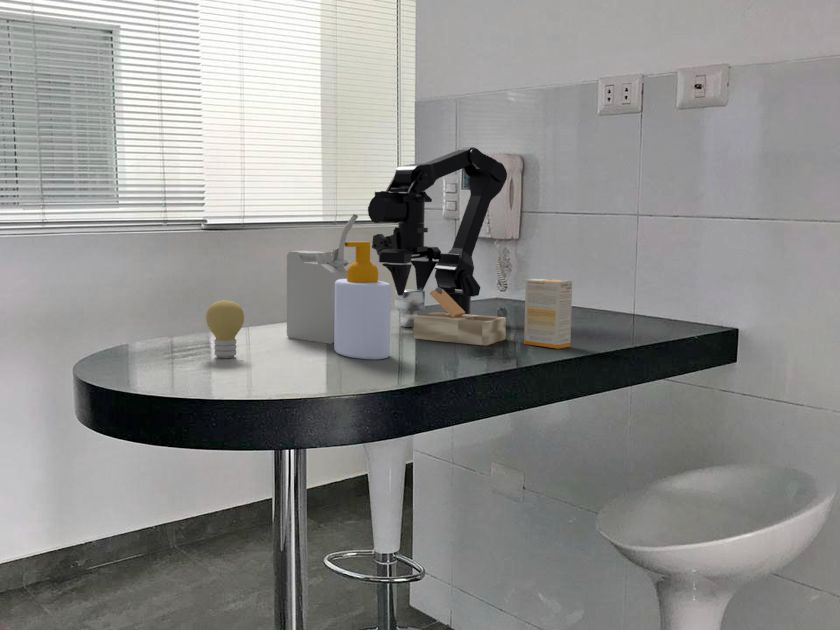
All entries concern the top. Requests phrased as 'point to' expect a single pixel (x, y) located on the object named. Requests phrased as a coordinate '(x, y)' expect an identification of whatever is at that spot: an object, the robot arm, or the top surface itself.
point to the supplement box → (548, 312)
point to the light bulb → (225, 326)
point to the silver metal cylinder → (409, 305)
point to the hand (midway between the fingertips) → (410, 293)
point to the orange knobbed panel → (447, 302)
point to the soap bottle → (362, 309)
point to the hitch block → (460, 328)
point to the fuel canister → (314, 291)
